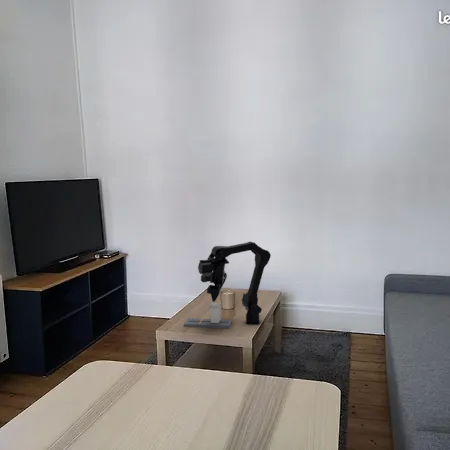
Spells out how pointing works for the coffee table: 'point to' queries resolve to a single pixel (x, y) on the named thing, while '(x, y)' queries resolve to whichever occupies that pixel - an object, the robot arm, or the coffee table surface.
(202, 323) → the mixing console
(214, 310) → the fader knob
